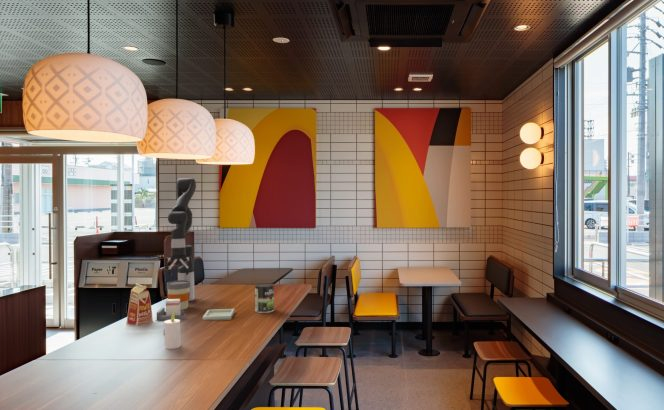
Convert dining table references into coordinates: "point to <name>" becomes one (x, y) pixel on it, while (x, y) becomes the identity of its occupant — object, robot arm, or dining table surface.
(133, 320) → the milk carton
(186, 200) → the robot arm
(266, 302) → the coffee can
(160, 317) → the grey holder
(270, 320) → the dining table surface
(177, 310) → the white banded brick
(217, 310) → the tray
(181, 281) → the reusable coffee cup
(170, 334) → the candle
